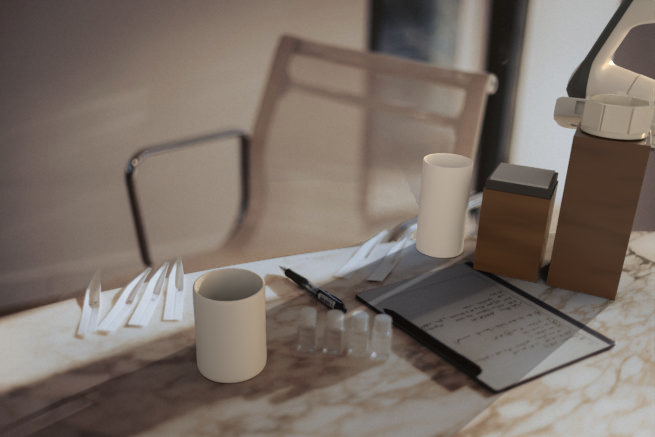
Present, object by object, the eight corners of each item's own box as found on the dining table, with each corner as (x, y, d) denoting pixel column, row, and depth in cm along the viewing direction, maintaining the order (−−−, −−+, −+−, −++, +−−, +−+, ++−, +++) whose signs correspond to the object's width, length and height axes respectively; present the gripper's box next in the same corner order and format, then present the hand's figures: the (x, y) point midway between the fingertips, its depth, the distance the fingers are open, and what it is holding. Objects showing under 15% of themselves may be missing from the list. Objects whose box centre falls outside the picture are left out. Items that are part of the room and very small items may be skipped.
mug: (277, 373, 75) (276, 293, 71) (207, 391, 72) (202, 309, 67) (245, 323, 85) (242, 251, 81) (182, 337, 82) (177, 262, 77)
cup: (437, 262, 104) (447, 171, 97) (405, 244, 110) (412, 157, 104) (472, 251, 108) (484, 163, 102) (440, 234, 114) (449, 150, 108)
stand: (486, 245, 110) (504, 112, 101) (617, 272, 102) (650, 129, 93) (472, 269, 102) (491, 125, 92) (614, 300, 93) (651, 146, 84)
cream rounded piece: (589, 105, 106) (594, 78, 105) (647, 111, 103) (653, 84, 101) (577, 134, 88) (583, 102, 86) (647, 143, 85) (655, 110, 83)
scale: (497, 170, 105) (499, 160, 104) (557, 180, 101) (559, 169, 100) (485, 188, 96) (486, 177, 96) (549, 199, 93) (551, 188, 92)
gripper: (557, 104, 117) (555, 77, 104) (679, 118, 109) (693, 90, 96) (550, 136, 117) (548, 113, 104) (672, 152, 109) (686, 129, 96)
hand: (619, 102), depth 100 cm, fingers closed on cream rounded piece, 2 cm apart
